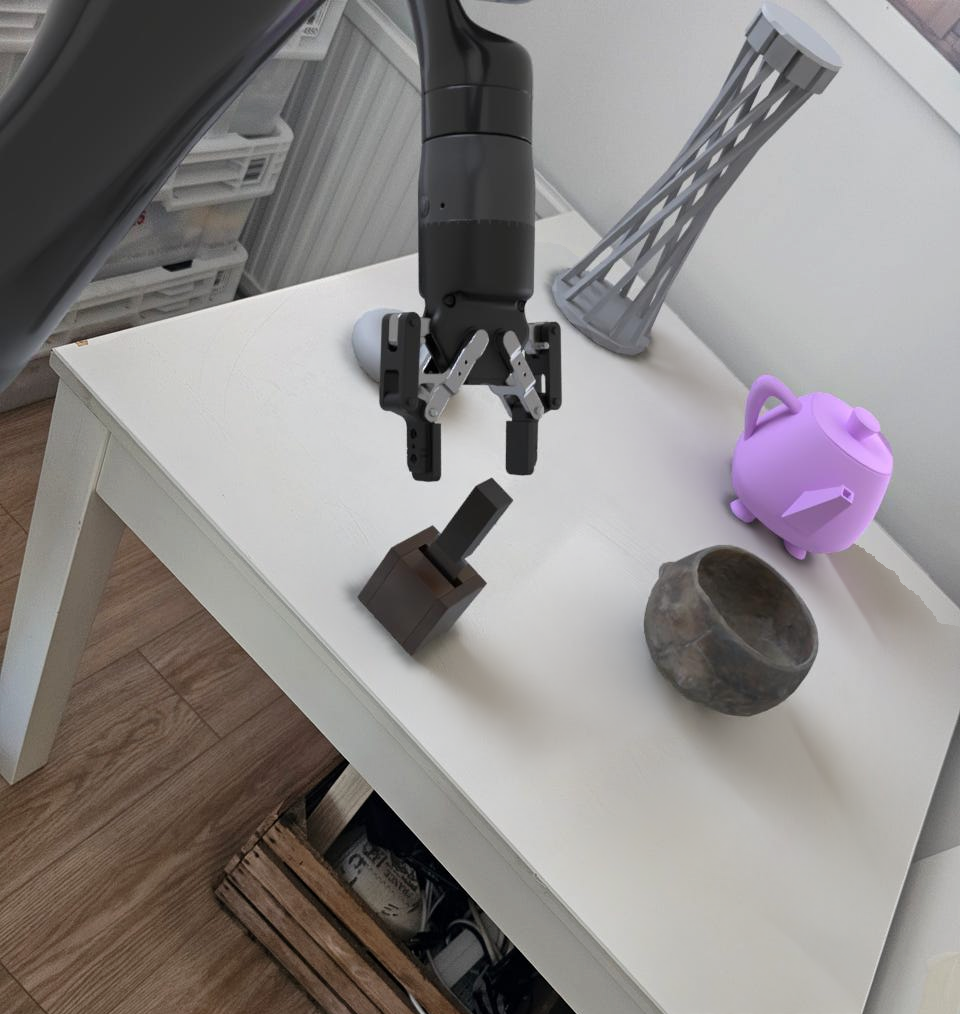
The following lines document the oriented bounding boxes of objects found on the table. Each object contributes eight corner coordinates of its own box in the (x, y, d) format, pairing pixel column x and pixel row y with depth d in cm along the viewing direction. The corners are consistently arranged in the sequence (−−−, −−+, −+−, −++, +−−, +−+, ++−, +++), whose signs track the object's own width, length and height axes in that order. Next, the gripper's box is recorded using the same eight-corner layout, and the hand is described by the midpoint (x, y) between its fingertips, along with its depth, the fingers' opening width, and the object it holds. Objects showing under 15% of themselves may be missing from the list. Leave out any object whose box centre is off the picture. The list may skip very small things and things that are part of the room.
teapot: (673, 514, 106) (773, 409, 96) (697, 419, 120) (785, 320, 110) (824, 617, 109) (936, 526, 99) (830, 513, 123) (927, 424, 113)
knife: (382, 604, 78) (471, 481, 69) (399, 594, 80) (487, 472, 70) (409, 633, 78) (502, 513, 68) (425, 622, 79) (518, 504, 70)
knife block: (356, 597, 77) (391, 547, 73) (398, 573, 81) (432, 524, 77) (410, 655, 76) (448, 608, 72) (449, 629, 80) (487, 583, 76)
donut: (331, 321, 96) (365, 399, 91) (345, 292, 93) (381, 369, 89) (421, 337, 102) (457, 410, 97) (437, 309, 99) (475, 383, 95)
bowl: (612, 581, 94) (680, 510, 87) (746, 639, 99) (819, 576, 93) (621, 704, 85) (697, 636, 78) (767, 760, 90) (850, 700, 84)
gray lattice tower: (661, 336, 128) (870, 74, 104) (621, 368, 118) (842, 86, 95) (579, 263, 128) (769, -15, 105) (533, 289, 119) (731, -12, 95)
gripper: (428, 202, 59) (429, 488, 63) (594, 228, 68) (586, 476, 72) (351, 217, 65) (356, 479, 68) (515, 239, 74) (511, 469, 78)
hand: (475, 477), depth 70 cm, fingers open, 8 cm apart
